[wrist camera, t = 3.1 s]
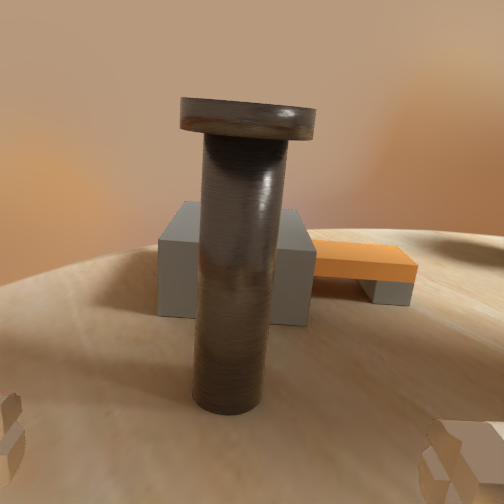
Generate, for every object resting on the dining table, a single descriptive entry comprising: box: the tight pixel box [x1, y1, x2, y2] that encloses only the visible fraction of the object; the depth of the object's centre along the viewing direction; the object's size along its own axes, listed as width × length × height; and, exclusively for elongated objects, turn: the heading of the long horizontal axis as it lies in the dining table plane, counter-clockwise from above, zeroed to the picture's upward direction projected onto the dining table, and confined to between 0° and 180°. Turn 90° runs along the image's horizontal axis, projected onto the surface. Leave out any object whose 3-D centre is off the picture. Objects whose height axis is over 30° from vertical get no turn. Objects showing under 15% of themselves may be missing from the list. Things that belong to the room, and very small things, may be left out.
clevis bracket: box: [157, 201, 418, 326], centre depth 35 cm, size 19×12×6 cm, turn 90°
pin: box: [180, 97, 316, 415], centre depth 20 cm, size 6×6×14 cm
